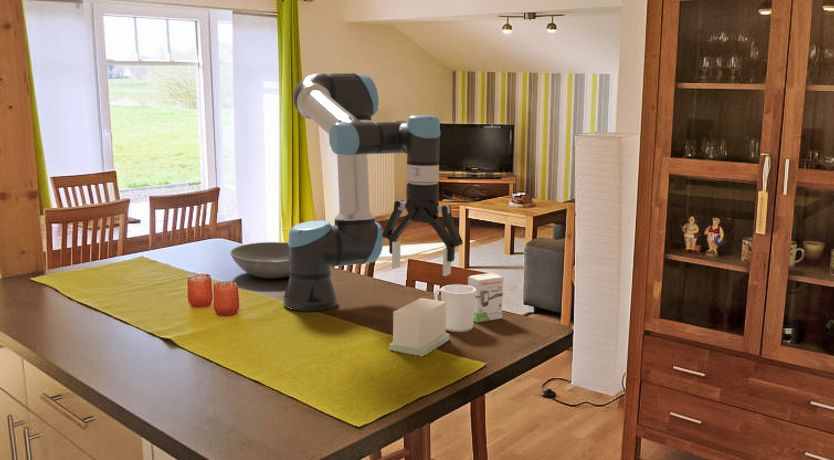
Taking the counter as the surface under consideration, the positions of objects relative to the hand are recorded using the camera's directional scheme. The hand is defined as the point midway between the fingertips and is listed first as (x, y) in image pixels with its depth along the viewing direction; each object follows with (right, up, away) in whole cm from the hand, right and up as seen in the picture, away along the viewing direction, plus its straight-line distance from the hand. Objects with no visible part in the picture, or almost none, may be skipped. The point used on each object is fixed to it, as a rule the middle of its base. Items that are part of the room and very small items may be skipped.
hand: (421, 271), depth 187 cm
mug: (+9, -16, +18) cm, 25 cm away
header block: (0, -18, +3) cm, 18 cm away
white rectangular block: (0, -16, +3) cm, 17 cm away
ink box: (+17, -14, +25) cm, 34 cm away
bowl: (-48, -5, +69) cm, 84 cm away
